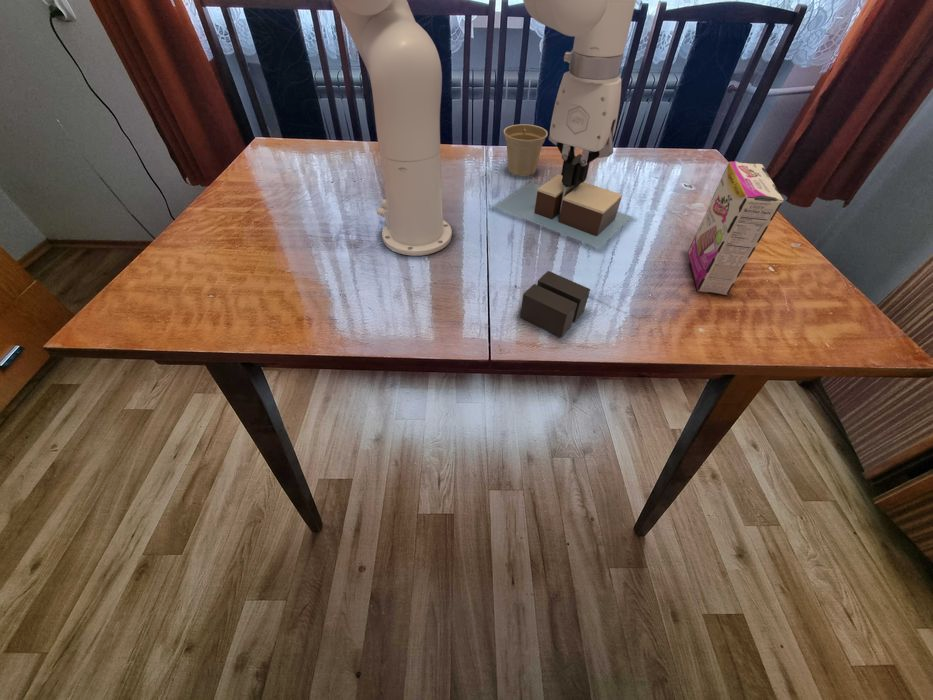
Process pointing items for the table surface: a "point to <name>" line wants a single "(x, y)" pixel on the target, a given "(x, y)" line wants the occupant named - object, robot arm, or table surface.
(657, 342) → the table surface
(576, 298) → the knife block
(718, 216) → the candy bar box
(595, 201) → the cake
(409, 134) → the robot arm
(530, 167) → the flower pot
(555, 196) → the two-tone brown block
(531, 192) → the platter
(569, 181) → the knife
